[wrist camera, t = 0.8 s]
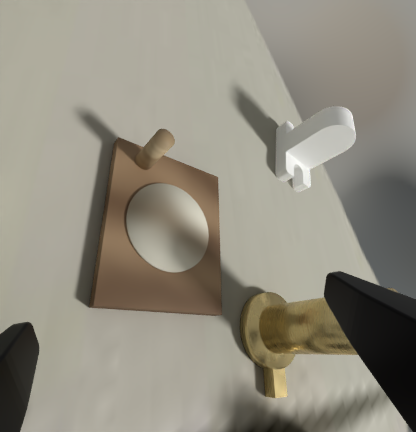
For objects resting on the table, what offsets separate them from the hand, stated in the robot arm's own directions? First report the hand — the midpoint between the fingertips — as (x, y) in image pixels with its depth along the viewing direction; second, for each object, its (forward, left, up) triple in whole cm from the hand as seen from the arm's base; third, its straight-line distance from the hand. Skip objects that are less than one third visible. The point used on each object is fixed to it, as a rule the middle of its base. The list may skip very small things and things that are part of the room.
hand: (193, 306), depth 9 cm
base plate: (+8, -6, -14) cm, 18 cm away
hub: (-1, -18, -14) cm, 23 cm away
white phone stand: (+24, -26, -14) cm, 39 cm away
